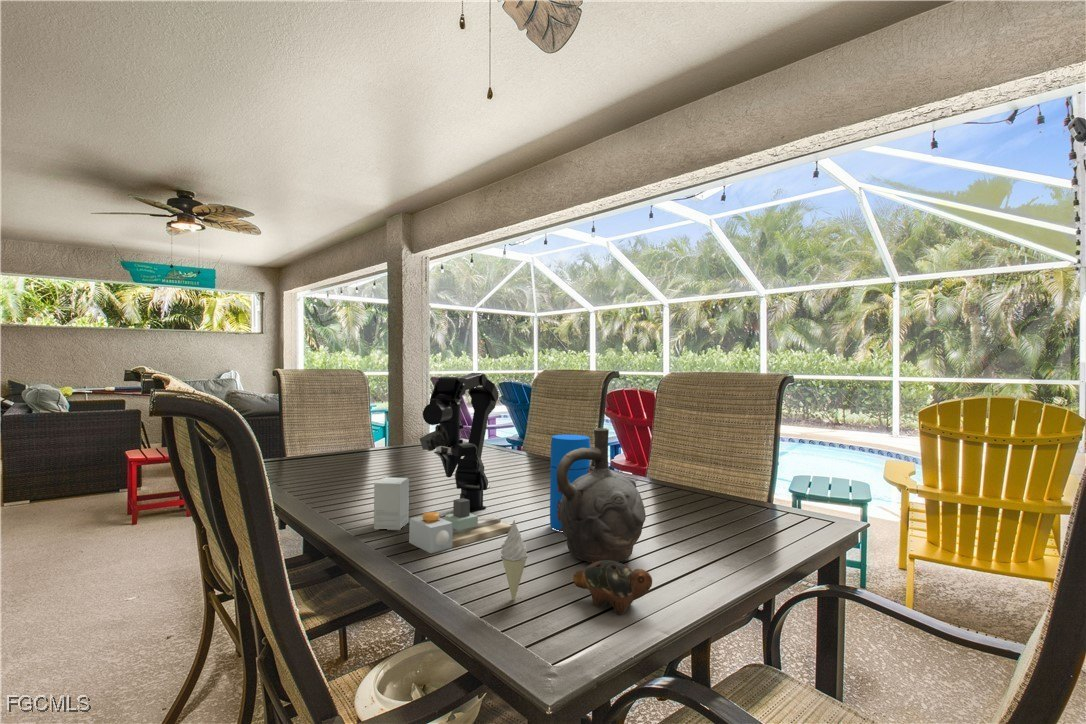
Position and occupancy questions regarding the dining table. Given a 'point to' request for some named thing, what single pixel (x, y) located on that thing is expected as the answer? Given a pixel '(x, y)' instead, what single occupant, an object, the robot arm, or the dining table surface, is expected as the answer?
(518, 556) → the ice cream cone
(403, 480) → the supplement box
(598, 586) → the decorative turtle
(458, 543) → the rail board
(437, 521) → the gauge cabinet
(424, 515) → the button
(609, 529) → the vessel
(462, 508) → the carriage
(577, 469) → the thermos
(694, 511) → the dining table surface
